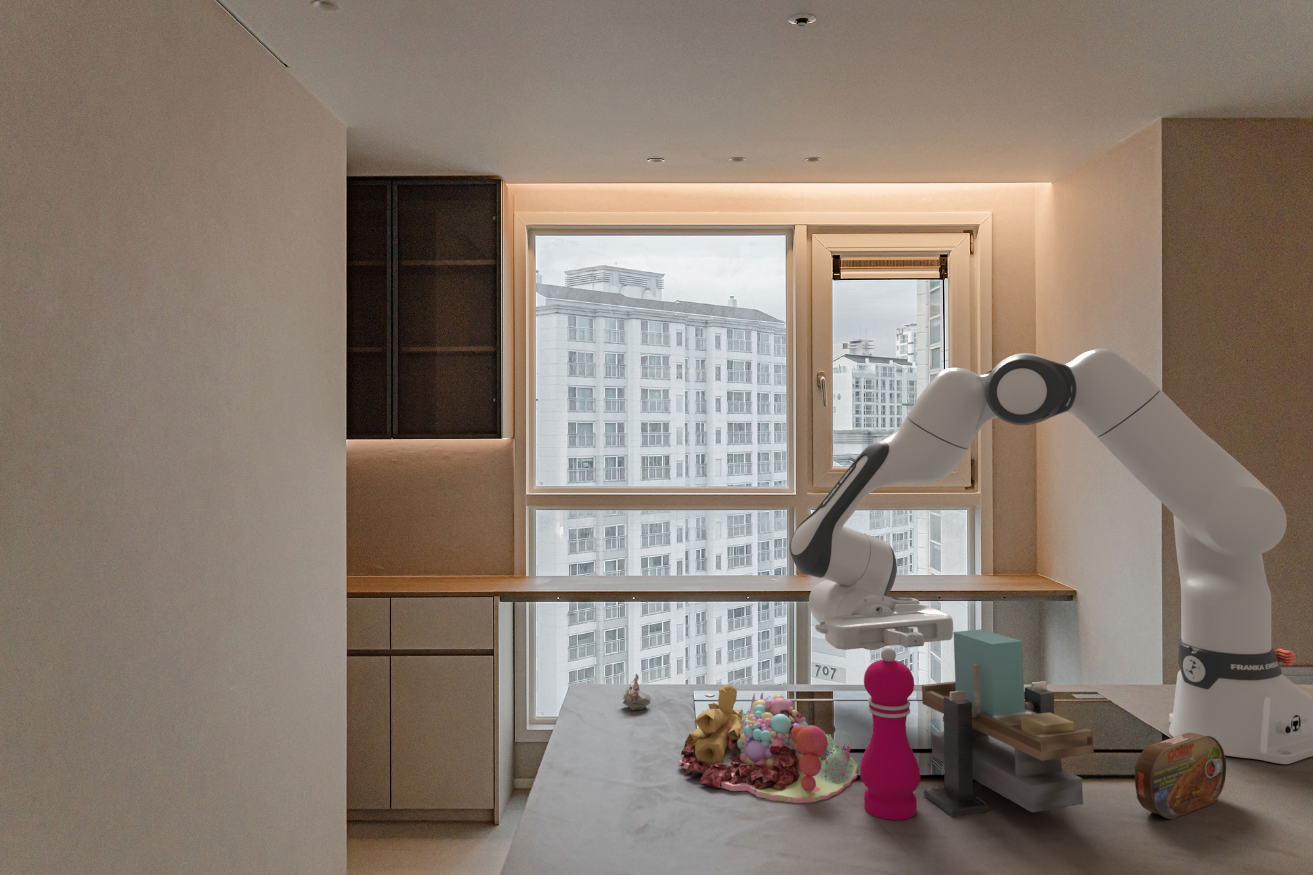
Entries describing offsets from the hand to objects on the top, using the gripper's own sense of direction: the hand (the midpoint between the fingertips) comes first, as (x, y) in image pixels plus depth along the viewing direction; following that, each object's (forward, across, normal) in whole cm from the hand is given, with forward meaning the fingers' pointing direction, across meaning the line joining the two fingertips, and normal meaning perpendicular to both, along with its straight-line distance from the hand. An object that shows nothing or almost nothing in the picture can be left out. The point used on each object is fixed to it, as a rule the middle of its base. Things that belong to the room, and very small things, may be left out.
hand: (915, 641), depth 128 cm
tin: (+28, +19, +15) cm, 37 cm away
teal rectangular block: (+17, 0, +5) cm, 18 cm away
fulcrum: (+19, 0, +15) cm, 24 cm away
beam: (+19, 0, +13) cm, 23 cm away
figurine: (-28, -36, +16) cm, 48 cm away
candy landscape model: (0, -24, +16) cm, 28 cm away
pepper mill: (+18, -15, +15) cm, 28 cm away
